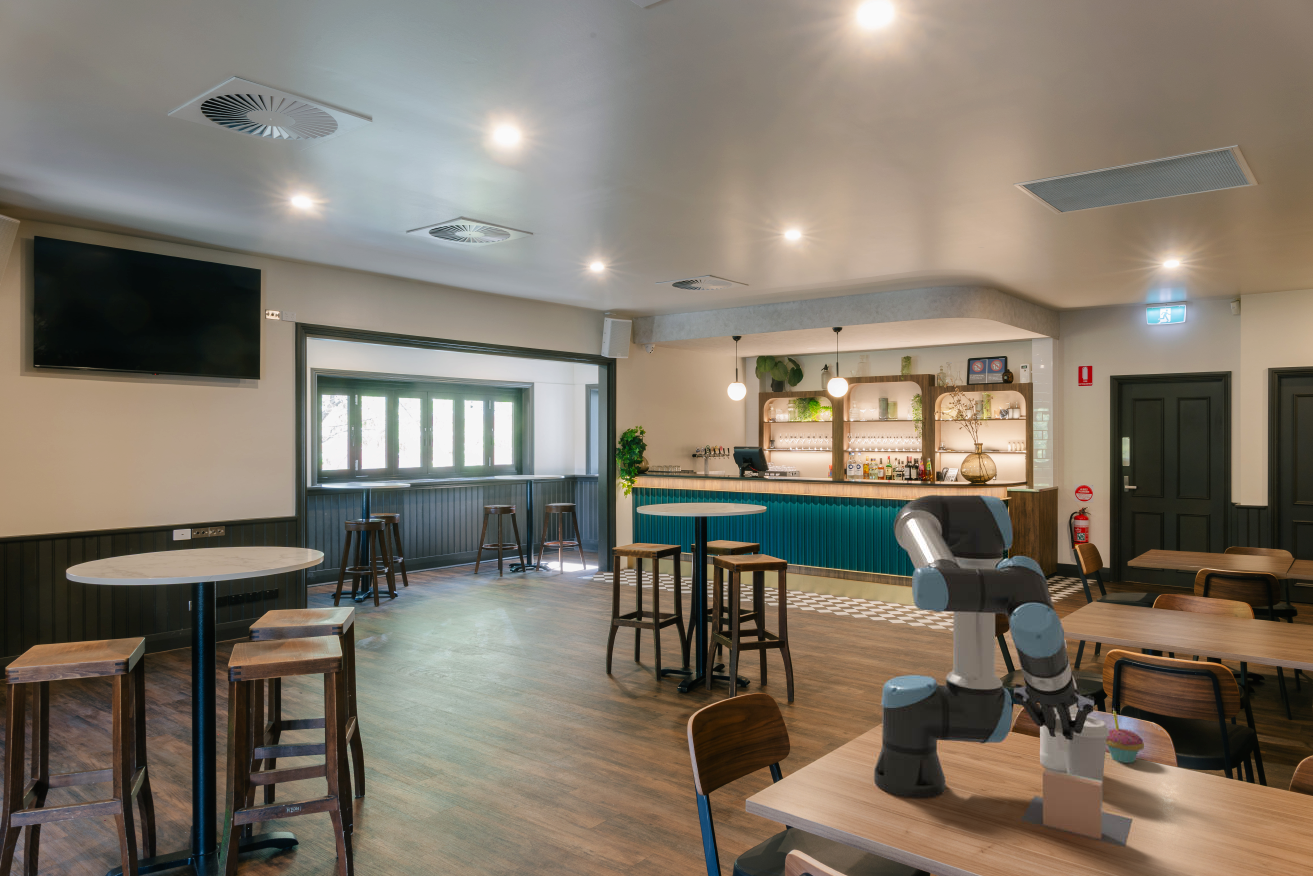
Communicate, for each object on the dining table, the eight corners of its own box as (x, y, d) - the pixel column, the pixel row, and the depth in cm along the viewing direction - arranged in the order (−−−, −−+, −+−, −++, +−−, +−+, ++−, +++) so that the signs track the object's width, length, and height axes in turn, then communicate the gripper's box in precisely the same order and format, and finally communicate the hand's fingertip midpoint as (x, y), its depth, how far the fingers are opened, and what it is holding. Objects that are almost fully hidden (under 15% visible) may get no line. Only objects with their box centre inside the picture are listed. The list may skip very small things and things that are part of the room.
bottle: (1078, 763, 188) (1077, 637, 188) (1076, 775, 181) (1075, 644, 182) (1041, 757, 192) (1040, 633, 193) (1038, 767, 185) (1037, 640, 186)
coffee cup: (1116, 800, 168) (1116, 729, 168) (1068, 796, 170) (1067, 726, 170) (1100, 782, 177) (1100, 715, 178) (1055, 778, 179) (1054, 712, 179)
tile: (1043, 824, 155) (1042, 773, 155) (1045, 818, 158) (1045, 768, 158) (1100, 839, 149) (1100, 786, 150) (1102, 833, 152) (1102, 781, 152)
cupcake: (1101, 760, 190) (1100, 710, 190) (1104, 750, 197) (1104, 702, 197) (1143, 769, 185) (1142, 717, 185) (1145, 757, 192) (1144, 708, 192)
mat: (1020, 822, 157) (1020, 819, 157) (1034, 798, 168) (1034, 795, 168) (1124, 849, 147) (1124, 846, 147) (1132, 821, 158) (1132, 818, 158)
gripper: (1002, 686, 135) (1023, 754, 148) (1088, 700, 127) (1102, 771, 140) (1009, 649, 140) (1029, 719, 153) (1092, 660, 132) (1106, 733, 145)
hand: (1064, 744), depth 146 cm, fingers closed
